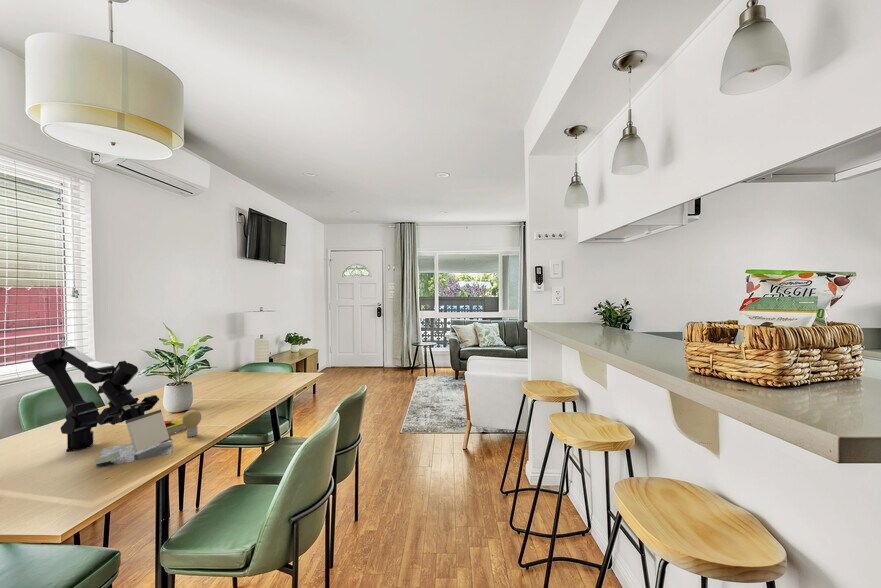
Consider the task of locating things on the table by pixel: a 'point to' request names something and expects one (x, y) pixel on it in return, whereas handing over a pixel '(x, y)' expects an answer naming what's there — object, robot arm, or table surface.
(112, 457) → the rocker
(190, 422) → the light bulb
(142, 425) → the beige square plate
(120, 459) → the panel
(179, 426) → the emergency button
